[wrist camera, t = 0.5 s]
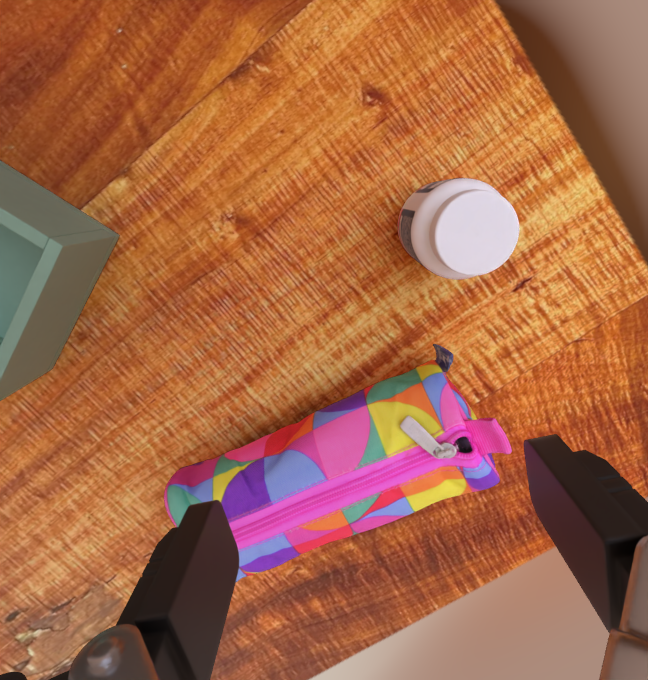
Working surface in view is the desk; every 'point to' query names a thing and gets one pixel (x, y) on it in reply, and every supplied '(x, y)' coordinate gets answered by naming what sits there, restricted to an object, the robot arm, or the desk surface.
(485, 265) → the pill bottle
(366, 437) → the pencil case
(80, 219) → the bin
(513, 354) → the desk surface
